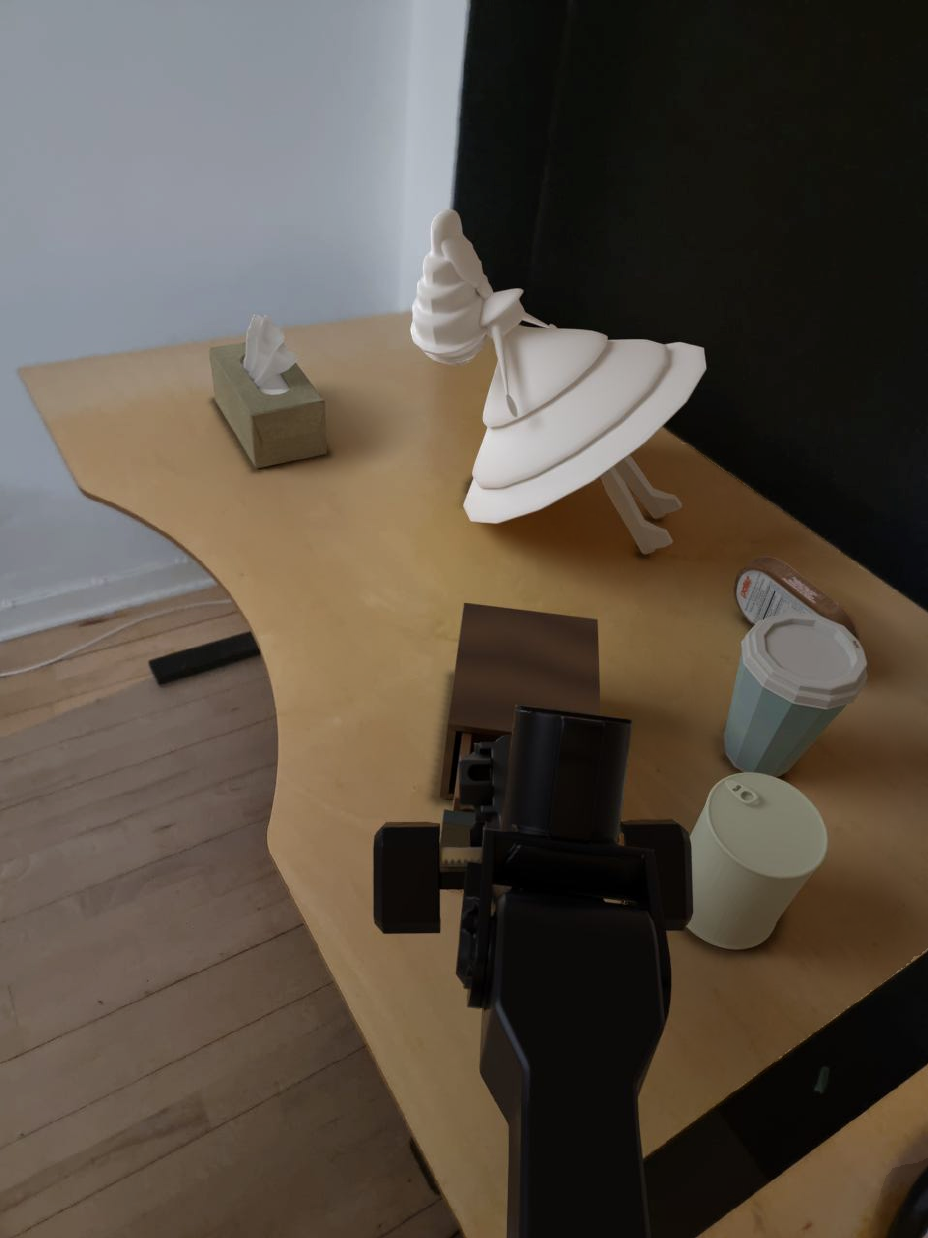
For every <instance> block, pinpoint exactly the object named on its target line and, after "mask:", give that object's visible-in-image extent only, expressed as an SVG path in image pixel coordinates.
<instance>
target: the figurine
mask: <svg viewBox="0 0 928 1238" xmlns="http://www.w3.org/2000/svg"><path fill="white" fill-rule="evenodd" d="M461 220H462V219H461V217H460V214H459V213H458V211H456V210H454V209H450V208H447V209H444V210H441V211H439V212H438V213H437V214H436V215H435V216H434V218H433V219H432V222H431V224H430V251H429V252H427V254H426V255H425V256H424V258H423V263H422V273H423V274H422V275H421V277H420V278H419V280H418V281H417V283H416V297H415V299H414V301H413V303H412V306H411V311H412V321H411V324H410V329H409V330H410V334H411V338H412V342H413V343H414V344H415V346H417V347H418V348H419V349H421V350H422V351H423V353H424V355H426V356H427V357H429V358H430V359H432V360H433V361H434V362H438V363H440V364H441V363H442V364H444V365H447V366H452V367H457V366H463V365H466V364H468V363H469V362H471V361H472V360H473V359H474V357H475V356H476V355H477V354H478V353H479V352H480V351H481V350H482V349H483V348H484V347H485V345H486V342H487V339H490V340H493V344H494V349H495V354H496V357H497V362H496V366H495V369H494V372H493V376H492V380H491V382H490V385H489V389H488V393H487V396H486V400H485V403H484V409H483V412H482V413H483V414H482V421H483V424H484V425H485V426H486V427H487V428H486V431H485V434H484V437H483V440H482V442H481V445H480V447H479V450H478V453H477V455H476V459H475V461H474V465H473V468H472V474H471V475H472V478H473V479H472V481H471V484H470V486H469V489H468V491H467V494H466V496H465V499H464V502H463V504H462V505H463V509H464V511H465V513H466V515H467V517H468V519H469V521H470V522H471V523H479V524H480V523H481V524H496V525H500V524H502V523H504V522H508V521H511V520H514V519H517V518H521V517H524V516H526V515H530V514H533V513H536V512H539V511H541V510H542V511H543V509H545V508H547V507H549V506H551V505H553V504H554V503H556V502H558V501H561V500H562V499H564V498H566V497H568V496H569V495H571V494H573V493H574V492H577V491H579V490H580V489H582V488H585V487H586V486H588V485H590V484H591V483H593V482H595V481H597V479H599V478H600V481H601V482H602V485H603V488H604V489H605V493H606V494H607V497H609V500H610V501H611V503H612V505H613V506H614V508H615V509H616V512H618V515H619V516H620V518H621V520H622V521H623V523H624V524H625V526H626V528H627V530H628V531H629V532H630V534H631V537H632V538H633V540H634V542H635V543H636V546H637V547H638V549H639V550H640V552H641V554H643V555H648V554H651V553H654V552H655V551H656V549H661V548H662V549H663V548H665V547H668V546H671V545H672V544H673V542H674V540H673V538H672V537H671V535H670V533H669V531H668V529H666V528H663V527H661V526H660V527H659V526H657V525H655V524H653V523H651V522H650V521H647V520H646V519H644V516H643V514H642V512H641V511H640V508H639V506H638V505H637V503H636V501H635V499H634V496H633V495H632V493H633V494H634V495H635V497H637V499H638V500H639V501H640V503H641V505H642V506H643V507H644V508H645V509H646V511H647V512H648V513H649V515H650V516H651V517H652V518H653V519H655V520H659V519H660V518H663V517H665V516H666V514H670V513H675V512H676V511H678V510H680V509H682V505H683V504H682V502H681V501H680V499H679V498H678V496H677V495H676V494H672V493H666V492H665V491H662V490H660V489H657V488H654V487H653V486H652V484H651V483H650V481H648V479H647V478H646V476H645V474H644V473H643V471H642V470H641V468H640V467H639V466H638V464H637V463H636V461H635V460H634V458H633V457H632V456H631V455H632V454H633V453H635V452H636V451H637V450H638V449H639V448H641V447H642V446H644V445H645V444H646V443H648V442H649V440H651V438H653V436H655V435H656V433H657V432H659V431H660V430H661V428H663V426H664V425H665V424H666V423H668V421H670V419H671V418H672V417H674V416H675V414H677V412H679V410H681V408H682V407H684V406H685V404H686V403H688V401H689V399H690V398H691V396H692V394H693V393H694V391H695V389H696V388H697V386H698V384H699V383H700V380H701V379H702V377H703V375H704V374H705V372H706V371H707V362H706V355H705V347H702V346H699V345H695V344H690V343H686V342H683V341H682V342H681V341H678V342H677V341H675V342H670V343H665V344H663V343H660V342H656V341H653V340H649V339H639V338H637V339H635V338H634V339H633V338H632V339H631V338H629V339H609V338H608V337H609V336H608V335H606V334H604V333H601V332H599V331H595V330H591V329H590V330H589V329H580V328H578V329H577V328H559V327H557V326H556V325H554V324H552V323H550V324H549V325H548V324H547V323H545V322H543V321H542V320H539V319H538V318H536V317H534V316H533V315H531V314H529V313H527V312H526V311H525V308H524V306H523V305H522V303H521V301H520V298H521V296H522V295H523V294H524V289H522V288H519V287H518V288H509V289H505V290H499V291H493V288H492V286H491V284H490V283H489V279H488V276H487V275H486V274H484V270H483V264H482V261H481V259H479V256H478V254H477V252H476V251H475V249H474V246H473V245H474V244H472V242H471V241H470V240H469V239H468V238H467V237H466V236H465V235H464V233H463V225H462V221H461ZM522 321H523V322H527V323H530V324H533V325H536V326H539V327H532V326H524V325H520V323H521V322H522ZM630 490H631V491H632V493H631V491H630Z"/></svg>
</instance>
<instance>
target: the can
mask: <svg viewBox="0 0 928 1238" xmlns="http://www.w3.org/2000/svg"><path fill="white" fill-rule="evenodd" d="M828 832H829V831H828V828H827V825H826V822H825V820H824V818H823V816H822V814H821V813H820V811H819V810H818V808H817V806H816V805H815V804H814V803H813V802H812V801H811V799H810V798H808V797H807V796H806V795H805V794H804V793H803V792H802V791H800V789H798V788H797V787H795V786H794V785H792V784H791V783H789V782H787V781H785V780H783V779H781V778H778V777H773V776H770V775H766V774H761V773H752V772H746V773H744V772H739V773H733V774H731V775H728V776H726V777H724V778H722V779H720V780H719V781H718V782H717V783H716V784H715V785H714V786H713V787H712V788H711V790H710V792H709V793H708V795H707V798H706V802H705V804H704V807H703V809H702V810H701V813H700V815H699V817H698V819H697V821H696V823H695V826H694V827H693V829H692V831H691V833H690V834H689V837H690V841H691V847H692V881H693V915H692V918H691V920H690V922H689V923H688V924H687V926H686V927H685V928H687V929H688V930H689V931H690V932H691V933H692V934H693V935H695V936H696V937H698V938H699V939H700V940H702V941H704V942H706V943H708V944H711V945H712V946H714V947H718V948H722V949H726V950H735V951H736V950H746V949H750V948H753V947H756V946H758V945H760V944H761V943H763V942H765V941H766V940H767V939H768V938H769V937H770V935H771V934H772V933H773V931H774V929H775V927H776V925H777V922H778V921H779V919H780V918H781V916H782V915H783V914H784V912H785V911H786V909H787V908H788V907H789V906H790V904H791V903H792V901H794V899H795V897H796V896H797V894H798V893H799V892H800V890H801V889H802V888H803V886H804V885H805V884H806V882H807V881H808V880H809V879H810V877H811V876H812V875H813V874H814V872H815V871H817V869H819V867H820V866H821V865H822V864H823V863H824V861H825V859H826V857H827V854H828V851H829V843H830V841H829V840H830V839H829V833H828Z"/></svg>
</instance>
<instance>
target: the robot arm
mask: <svg viewBox="0 0 928 1238" xmlns="http://www.w3.org/2000/svg"><path fill="white" fill-rule="evenodd" d="M632 728H633V719H630V718H625V717H618V716H611V715H604V714H601V715H598V714H591V713H583V712H575V711H568V710H560V709H552V708H543V707H535V706H525V705H515V711H514V719H513V727H512V735H506V736H502V737H500V738H499V739H497V740H496V741H495V742H480V743H474V752H473V753H472V754H469V755H460V756H459V807H460V808H461V809H472V810H474V812H475V822H476V823H474V824H473V825H472V827H471V829H470V847H444V848H442V849H441V852H440V837H441V823H438V822H433V821H385V823H384V824H382V825H381V827H379V829H377V830H376V832H375V834H374V835H373V847H372V853H373V854H372V855H373V856H372V863H373V864H372V865H373V866H372V867H373V868H372V869H373V871H372V872H373V873H372V878H373V880H372V882H373V883H372V886H373V888H372V889H373V890H372V891H373V892H372V893H373V898H372V899H373V902H372V904H373V906H372V908H373V910H372V911H373V912H372V915H373V923H374V925H375V926H376V927H377V928H378V929H379V930H380V932H381V933H382V934H383V935H410V934H411V935H413V934H414V935H415V934H416V935H417V934H419V935H420V934H441V932H442V931H441V930H442V918H441V891H445V890H447V891H448V890H449V891H451V890H452V891H453V890H457V891H458V890H463V893H462V903H461V914H460V923H459V932H458V942H457V953H456V955H457V956H456V963H455V975H456V976H457V978H458V979H459V981H460V982H461V983H462V988H463V989H464V990H466V991H467V993H466V1008H469V1009H476V1010H480V1009H481V1016H480V1017H481V1018H480V1019H481V1020H480V1043H479V1046H480V1047H479V1062H478V1063H479V1065H478V1066H479V1074H480V1077H481V1079H482V1080H483V1082H484V1084H485V1086H486V1088H487V1090H488V1091H489V1093H490V1095H491V1097H492V1098H493V1100H494V1102H495V1104H496V1106H497V1107H498V1109H499V1111H500V1113H501V1115H502V1116H503V1118H504V1120H505V1121H506V1123H507V1126H508V1161H507V1162H508V1165H507V1167H508V1168H507V1202H506V1203H507V1204H506V1205H507V1206H506V1207H507V1208H506V1238H652V1235H651V1234H652V1233H651V1226H650V1216H649V1206H648V1196H647V1185H646V1175H645V1165H644V1157H643V1155H644V1154H643V1146H642V1137H641V1126H640V1113H639V1110H640V1109H639V1095H640V1094H641V1091H642V1088H643V1085H644V1083H645V1080H646V1078H647V1075H648V1072H649V1071H650V1067H651V1064H652V1062H653V1059H654V1057H655V1053H656V1051H657V1049H658V1046H659V1044H660V1041H661V1038H662V1036H663V1034H664V1031H665V1027H666V1024H667V1021H668V1018H669V1015H670V1014H669V1013H670V1009H671V1008H670V1007H671V1001H672V1000H671V999H672V987H673V982H672V981H673V980H672V978H673V977H672V962H671V960H672V959H671V953H670V946H669V940H668V939H669V938H668V934H667V932H674V931H676V932H677V931H678V932H679V931H680V932H682V931H684V929H686V928H687V927H686V926H687V924H688V923H689V922H690V920H691V918H692V915H693V881H692V847H691V841H690V833H689V832H688V831H687V829H685V827H684V826H683V825H682V824H680V823H679V822H677V821H676V820H675V819H673V818H643V819H641V818H640V819H639V818H637V819H636V818H635V819H634V818H633V819H632V818H631V819H626V820H622V818H623V809H624V800H625V791H626V781H627V774H628V766H629V765H628V764H629V757H630V756H629V755H630V747H631V746H630V745H631V738H632V737H631V736H632ZM490 780H491V781H490ZM621 834H622V835H623V844H620V837H621ZM446 860H447V862H448V865H451V862H452V860H454V863H455V865H457V864H458V861H459V860H460V861H461V864H462V865H464V863H465V860H467V867H440V861H441V864H442V865H444V864H445V861H446Z"/></svg>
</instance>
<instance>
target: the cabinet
mask: <svg viewBox="0 0 928 1238" xmlns="http://www.w3.org/2000/svg"><path fill="white" fill-rule="evenodd" d="M599 649H600V647H599V619H598V618H591V617H582V616H575V615H567V614H559V613H557V614H556V613H550V612H542V611H537V610H536V611H534V610H527V609H519V608H511V607H503V606H494V605H487V604H479V603H471V602H463V605H462V613H461V620H460V628H459V635H458V642H457V650H456V658H455V664H454V665H455V666H454V673H453V680H452V686H451V695H450V702H449V708H448V709H449V710H448V716H447V723H446V733H445V742H444V748H443V749H444V750H443V759H442V768H441V777H440V786H439V795H438V797H439V798H440V799H448V800H454V791H455V783H456V774H457V766H458V758H459V749H460V742H461V734H462V731H463V732H470V733H478V734H486V735H494V736H506V735H512V727H513V719H514V711H515V705H525V706H535V707H543V708H552V709H560V710H568V711H575V712H583V713H591V714H598V715H602V713H601V680H600V679H601V678H600V676H601V675H600V650H599Z"/></svg>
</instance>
